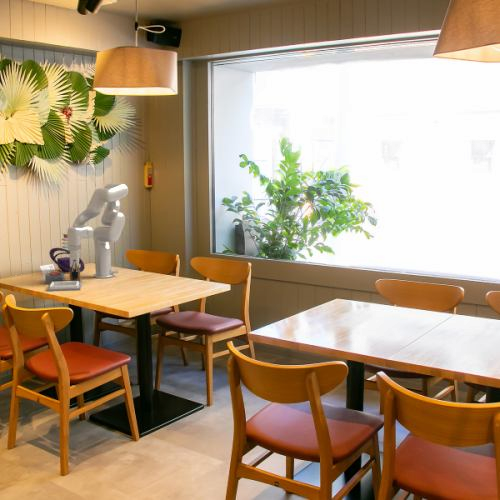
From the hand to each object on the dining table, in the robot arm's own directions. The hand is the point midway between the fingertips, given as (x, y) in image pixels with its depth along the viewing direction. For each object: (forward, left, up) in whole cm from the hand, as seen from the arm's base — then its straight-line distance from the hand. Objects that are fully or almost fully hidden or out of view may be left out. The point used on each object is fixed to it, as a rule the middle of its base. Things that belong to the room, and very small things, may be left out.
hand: (75, 277), depth 372 cm
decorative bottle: (+8, -39, -3) cm, 40 cm away
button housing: (+12, -2, -3) cm, 13 cm away
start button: (+12, -2, +1) cm, 12 cm away
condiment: (0, +1, -3) cm, 3 cm away
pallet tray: (+5, +17, -3) cm, 18 cm away
